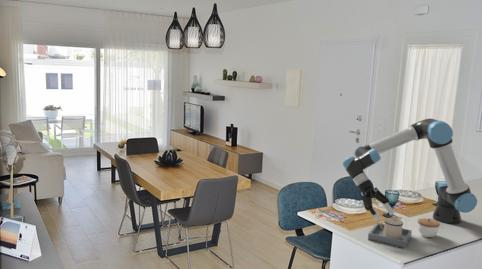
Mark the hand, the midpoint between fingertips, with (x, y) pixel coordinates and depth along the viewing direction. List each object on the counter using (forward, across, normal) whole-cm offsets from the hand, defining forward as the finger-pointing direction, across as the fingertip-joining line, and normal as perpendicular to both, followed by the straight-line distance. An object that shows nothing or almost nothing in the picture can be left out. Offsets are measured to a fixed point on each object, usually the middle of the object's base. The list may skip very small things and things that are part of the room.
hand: (386, 217), depth 217 cm
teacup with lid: (+9, 0, -5) cm, 11 cm away
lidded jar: (+18, -20, +2) cm, 27 cm away
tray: (+10, 0, -6) cm, 11 cm away
